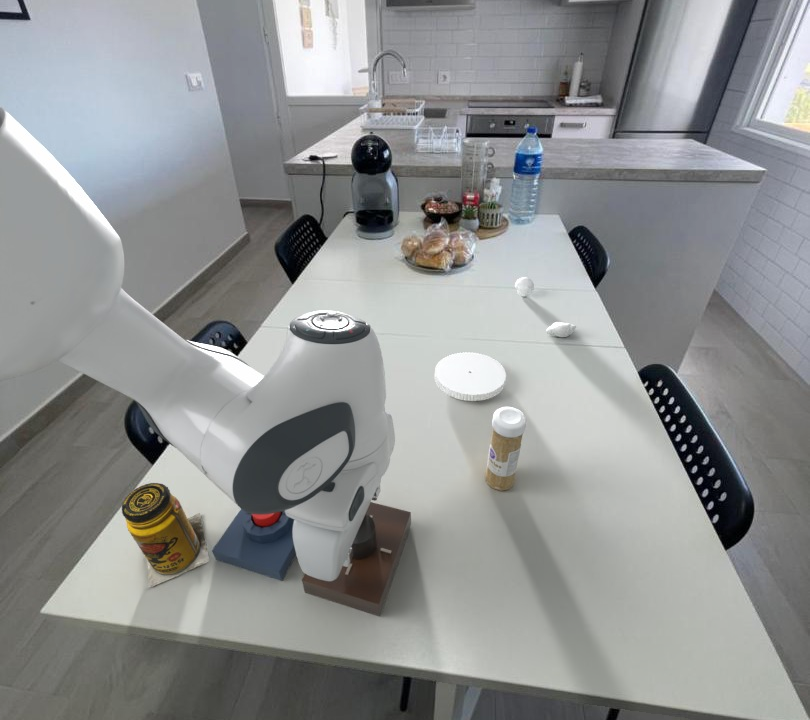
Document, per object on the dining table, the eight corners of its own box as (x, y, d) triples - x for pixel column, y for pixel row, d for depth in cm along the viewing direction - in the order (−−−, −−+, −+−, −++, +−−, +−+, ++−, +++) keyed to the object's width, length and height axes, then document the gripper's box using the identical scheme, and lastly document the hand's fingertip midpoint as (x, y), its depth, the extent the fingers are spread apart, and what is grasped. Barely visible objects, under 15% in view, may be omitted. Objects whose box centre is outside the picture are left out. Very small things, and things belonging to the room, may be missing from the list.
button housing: (282, 581, 57) (276, 564, 55) (215, 560, 60) (207, 542, 57) (323, 505, 66) (319, 487, 64) (264, 489, 69) (258, 472, 67)
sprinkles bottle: (478, 477, 70) (486, 413, 62) (500, 464, 72) (510, 401, 64) (498, 497, 67) (509, 432, 59) (520, 483, 69) (533, 419, 61)
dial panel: (380, 616, 53) (378, 603, 51) (305, 592, 56) (301, 579, 54) (411, 524, 63) (410, 511, 62) (346, 507, 66) (344, 494, 64)
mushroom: (509, 294, 120) (512, 277, 117) (522, 289, 122) (524, 272, 120) (524, 301, 117) (526, 284, 114) (536, 296, 119) (539, 278, 116)
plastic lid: (451, 355, 97) (451, 345, 96) (513, 373, 92) (515, 363, 90) (422, 391, 87) (422, 381, 86) (490, 414, 82) (492, 403, 80)
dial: (369, 563, 56) (367, 546, 53) (337, 554, 57) (333, 536, 54) (381, 533, 59) (379, 515, 57) (350, 524, 60) (348, 507, 58)
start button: (272, 530, 59) (269, 522, 58) (248, 523, 60) (245, 515, 59) (285, 507, 62) (283, 500, 61) (262, 501, 63) (260, 493, 62)
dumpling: (553, 345, 101) (551, 329, 99) (543, 336, 105) (541, 321, 103) (582, 336, 101) (581, 320, 99) (571, 328, 106) (570, 313, 104)
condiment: (149, 588, 57) (112, 533, 50) (146, 535, 63) (112, 479, 56) (210, 562, 59) (182, 506, 52) (200, 514, 65) (174, 458, 58)
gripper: (357, 385, 57) (365, 459, 65) (273, 521, 41) (298, 596, 49) (405, 393, 55) (407, 468, 63) (336, 539, 39) (351, 613, 47)
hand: (359, 525), depth 56 cm, fingers open, 8 cm apart
